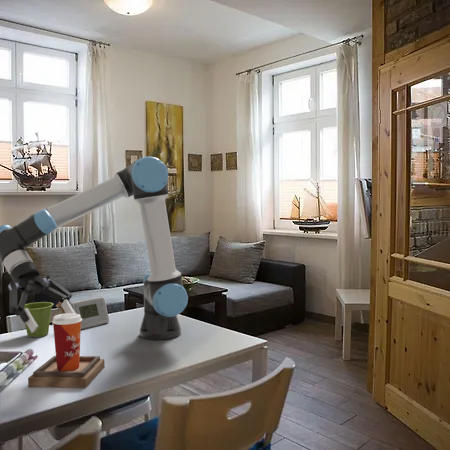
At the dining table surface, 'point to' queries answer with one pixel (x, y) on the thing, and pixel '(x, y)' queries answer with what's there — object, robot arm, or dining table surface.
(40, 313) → the plant pot
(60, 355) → the coffee cup
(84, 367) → the walnut base plate
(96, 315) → the digital clock
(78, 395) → the dining table surface
